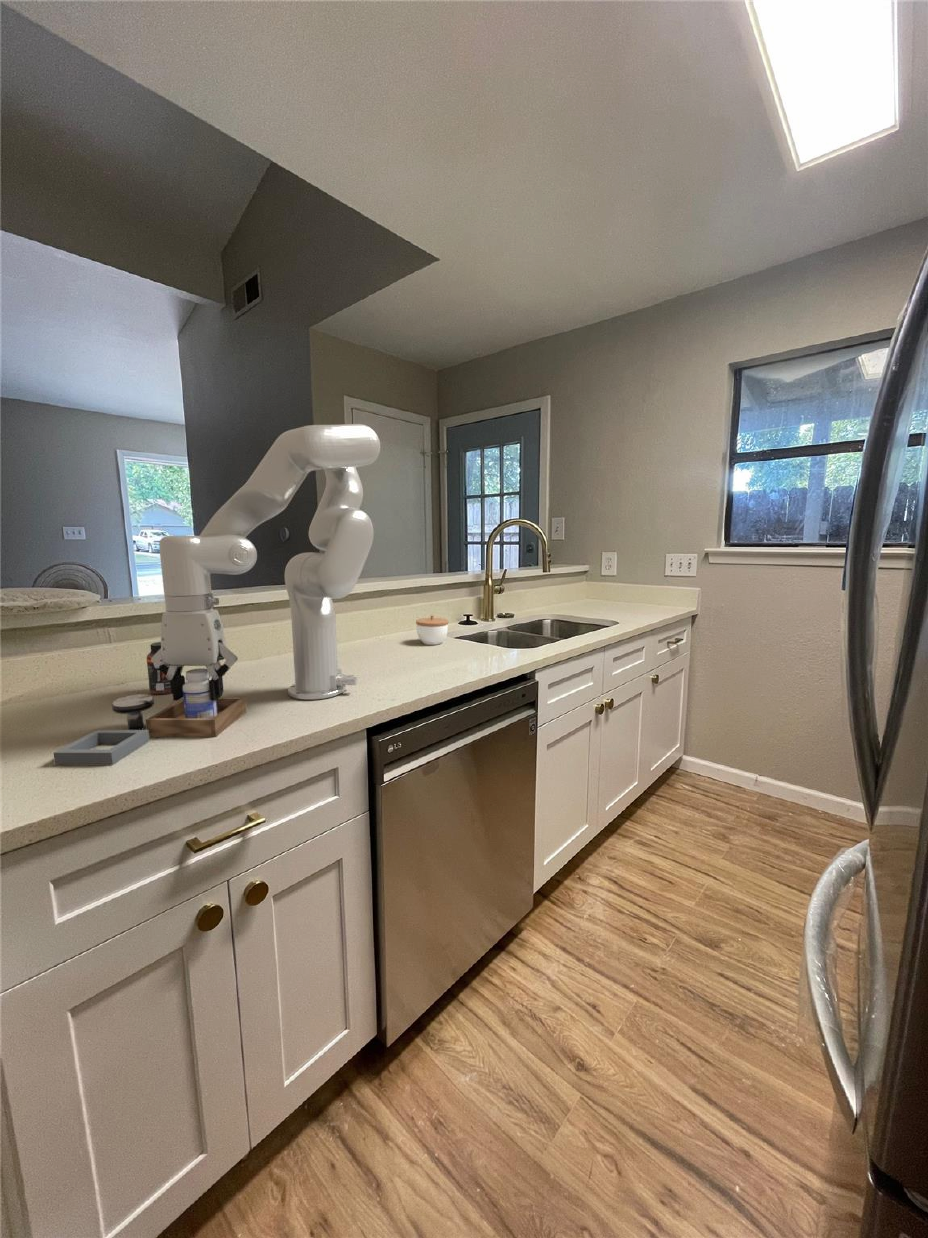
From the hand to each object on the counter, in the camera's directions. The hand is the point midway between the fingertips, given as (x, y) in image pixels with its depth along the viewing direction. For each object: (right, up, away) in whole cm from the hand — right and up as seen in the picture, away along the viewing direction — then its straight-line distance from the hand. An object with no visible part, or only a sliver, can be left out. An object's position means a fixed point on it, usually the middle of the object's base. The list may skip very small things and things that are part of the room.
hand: (198, 697), depth 92 cm
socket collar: (-9, -7, -12) cm, 16 cm away
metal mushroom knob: (-11, -5, -2) cm, 12 cm away
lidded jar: (+40, +7, +71) cm, 82 cm away
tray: (0, -5, +1) cm, 5 cm away
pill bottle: (0, -5, +1) cm, 5 cm away
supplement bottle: (-18, -2, +20) cm, 27 cm away
